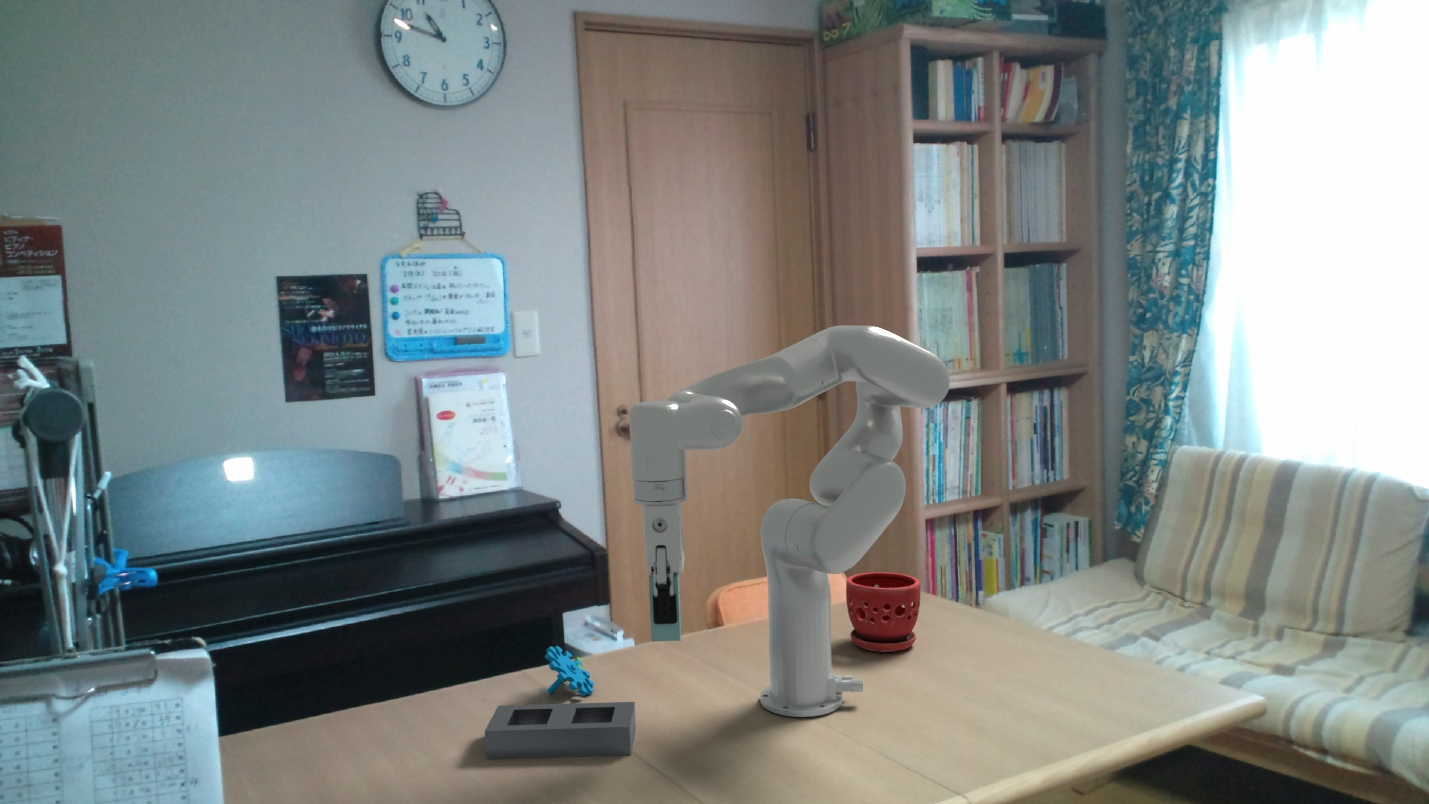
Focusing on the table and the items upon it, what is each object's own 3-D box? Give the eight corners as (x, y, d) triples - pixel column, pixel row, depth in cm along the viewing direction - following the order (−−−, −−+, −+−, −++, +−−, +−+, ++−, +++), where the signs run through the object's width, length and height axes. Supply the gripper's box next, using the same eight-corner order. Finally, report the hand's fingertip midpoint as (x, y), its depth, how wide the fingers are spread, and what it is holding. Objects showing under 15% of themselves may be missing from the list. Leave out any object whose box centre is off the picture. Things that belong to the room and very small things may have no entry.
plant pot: (927, 655, 178) (927, 587, 177) (851, 657, 178) (850, 589, 177) (914, 631, 191) (913, 568, 190) (843, 633, 191) (842, 570, 190)
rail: (635, 728, 151) (634, 701, 151) (630, 754, 142) (629, 726, 142) (499, 732, 151) (498, 705, 151) (486, 759, 142) (484, 731, 142)
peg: (681, 631, 147) (678, 569, 146) (680, 640, 143) (677, 577, 142) (653, 632, 147) (650, 570, 146) (651, 641, 143) (648, 578, 142)
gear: (587, 696, 160) (543, 649, 161) (561, 723, 160) (517, 675, 161) (605, 680, 170) (564, 636, 172) (581, 705, 171) (540, 661, 172)
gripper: (685, 500, 135) (691, 636, 137) (688, 478, 152) (694, 599, 153) (628, 503, 135) (635, 638, 137) (637, 480, 152) (643, 601, 153)
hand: (666, 616), depth 145 cm, fingers closed on peg, 4 cm apart
